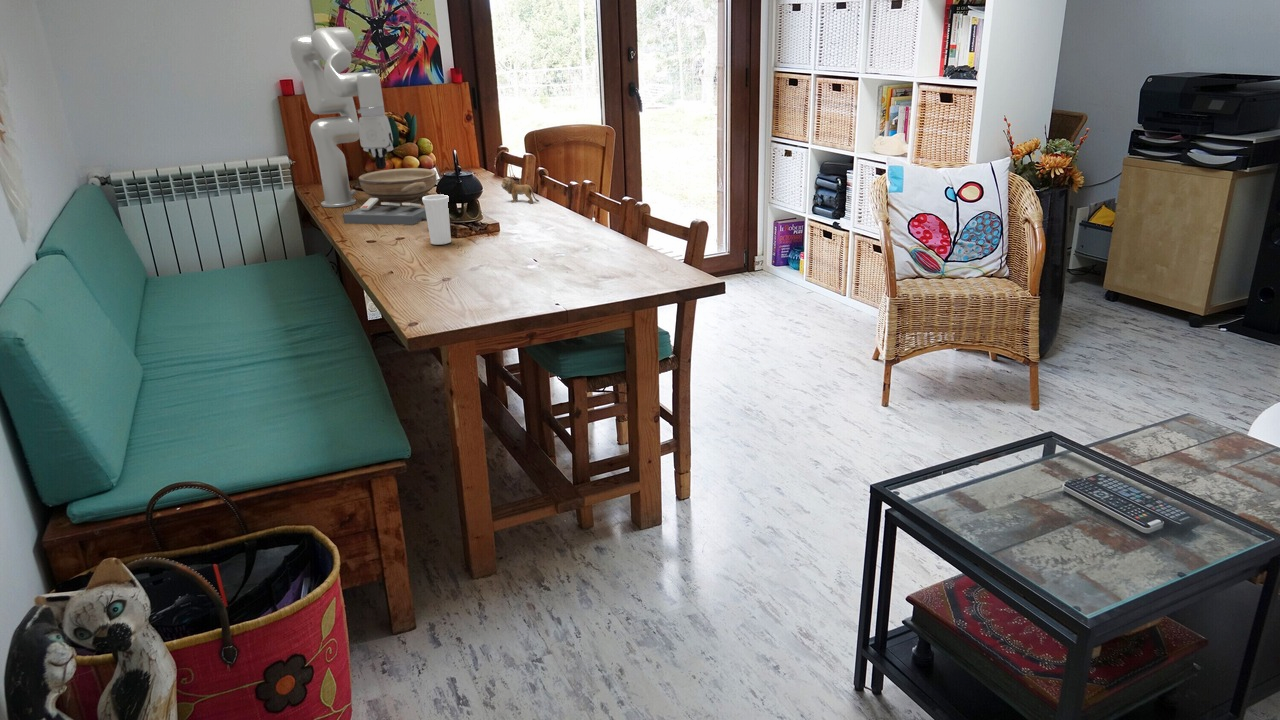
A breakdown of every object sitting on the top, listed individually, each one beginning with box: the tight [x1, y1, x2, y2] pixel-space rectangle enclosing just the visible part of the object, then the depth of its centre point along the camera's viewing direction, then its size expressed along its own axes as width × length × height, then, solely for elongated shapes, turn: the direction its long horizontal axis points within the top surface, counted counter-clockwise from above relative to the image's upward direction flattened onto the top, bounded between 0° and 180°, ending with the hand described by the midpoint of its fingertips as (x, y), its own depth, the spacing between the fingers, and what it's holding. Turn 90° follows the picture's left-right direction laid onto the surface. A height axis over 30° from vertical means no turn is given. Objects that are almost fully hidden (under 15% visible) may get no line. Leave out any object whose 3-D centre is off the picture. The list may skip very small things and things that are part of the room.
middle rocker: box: [380, 201, 401, 207], centre depth 301 cm, size 8×3×1 cm, turn 166°
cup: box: [421, 193, 452, 246], centre depth 263 cm, size 8×8×14 cm
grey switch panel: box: [342, 205, 427, 226], centre depth 299 cm, size 14×32×3 cm, turn 76°
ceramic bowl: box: [358, 167, 437, 205], centre depth 329 cm, size 37×29×10 cm
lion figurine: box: [501, 177, 540, 205], centre depth 319 cm, size 15×5×9 cm, turn 71°
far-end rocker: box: [359, 197, 379, 210], centre depth 302 cm, size 8×3×1 cm, turn 166°
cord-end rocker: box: [401, 202, 422, 207], centre depth 299 cm, size 8×3×1 cm, turn 166°
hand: (381, 168), depth 293 cm, fingers closed
